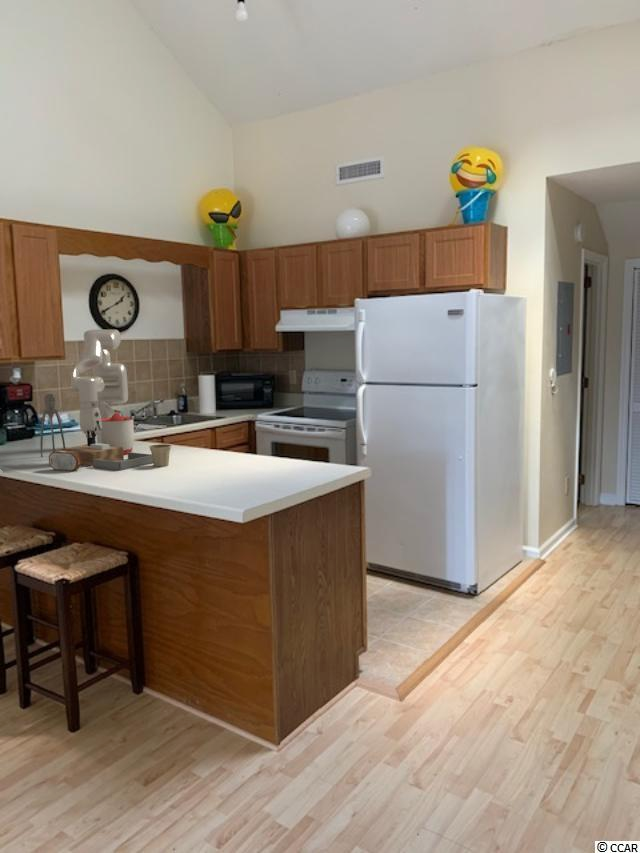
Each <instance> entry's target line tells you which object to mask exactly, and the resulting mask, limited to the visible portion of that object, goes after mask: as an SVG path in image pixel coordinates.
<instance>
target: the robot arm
mask: <svg viewBox="0 0 640 853" xmlns="http://www.w3.org/2000/svg"><path fill="white" fill-rule="evenodd" d="M83 339H84V348H83V357H82V359H80V360H79V361H78V362H77V363H76V365H74V367H73V368H72V371H71V377H70V378H71V379H70V387H71V391H72V392H73V393H75V394H79V396H78V397H79V407H80V408H79V427H80V430H81V432H82V433H83V434H85V438H86V440H87V444H88V446H90V444H95V443H102V438H101V429H102V421H101V419H103V418H111V417H112V416H113V415H114V414H115V413H116V412H115V410H114V409H113V407H112V406H111V404H112V405H113V404H114V405H116V404H125V403H127V402H128V401H129V390H128V389H129V388H128V387H129V386H128V373H127V368H126V366H125V365H124V363H119V362H117V363H116V362H113V363H112V361H111V354H110V351H109V350H116V349H117V348H118V347H119V346H120V344H121V341H122V340H121V339H122V337H121V333H120V331H119V330H118V329H89V330H85V331H84V333H83ZM92 369H93V370H92ZM90 370H92V371H93V376H82V374H84V373H86V371H90ZM105 383H117V384H111V385H110V384H105ZM87 444H86V445H87Z"/></svg>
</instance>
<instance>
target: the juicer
mask: <svg viewBox="0 0 640 853" xmlns="http://www.w3.org/2000/svg"><path fill="white" fill-rule="evenodd" d="M43 402H44V407H45V409H43V412H42V418H41V424H40V425H41V426H40V443H39V444H40V446H39V448H40V458H43V440H44V425H45V419H46V415H47V416H48V417H49V420H50V427H51V428H50V432H51V445H52V452H54V451H56V449H55V448H56V447H55V435H54V425H53V424H54V423H53V418H54V414H55V416H56V419H57V423H58V427H59V431H60V436H61V441H62V447H63V448H62V449H64V448H66V442H65V437H64V436H65V435H64V430H63V427H62V423H61V419H60V416H59V412H58V409H57V408H56V398H55V395H54V394H53V393H46V394H45V395H44V397H43Z"/></svg>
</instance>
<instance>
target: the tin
mask: <svg viewBox="0 0 640 853" xmlns="http://www.w3.org/2000/svg"><path fill="white" fill-rule="evenodd" d="M48 463H49V467H51V468H52V469H53V470H55V471H65V472H74V471H78V470H79V469H80V468H81V466H82V464H81V458H80V456H79V454H78V453H76V452H75V451H64V450H62V449H58V450H57V449H55V451H54V452H53V451H52V452H51V453H50V454H49V455H48Z"/></svg>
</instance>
